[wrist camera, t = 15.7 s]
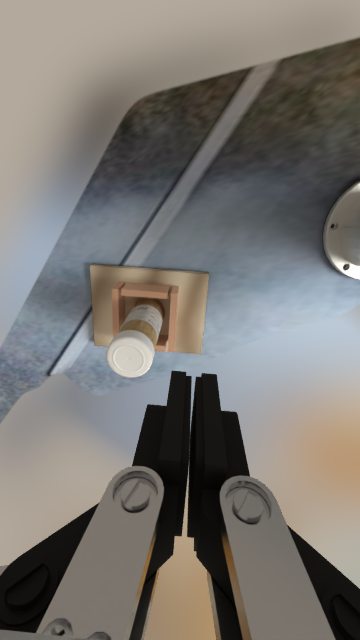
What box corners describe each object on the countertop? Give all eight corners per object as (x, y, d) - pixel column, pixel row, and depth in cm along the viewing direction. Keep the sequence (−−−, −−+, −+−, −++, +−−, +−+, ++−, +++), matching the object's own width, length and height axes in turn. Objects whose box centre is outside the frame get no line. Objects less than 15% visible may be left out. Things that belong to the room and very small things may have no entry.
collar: (178, 286, 38) (177, 293, 34) (175, 340, 41) (173, 352, 37) (118, 281, 38) (111, 288, 34) (120, 336, 41) (113, 347, 38)
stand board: (208, 272, 38) (209, 274, 37) (200, 350, 42) (201, 354, 41) (92, 264, 38) (89, 265, 37) (97, 341, 43) (94, 345, 42)
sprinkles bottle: (134, 325, 40) (106, 378, 28) (133, 295, 38) (102, 336, 26) (165, 326, 40) (152, 380, 27) (166, 296, 38) (151, 339, 26)
